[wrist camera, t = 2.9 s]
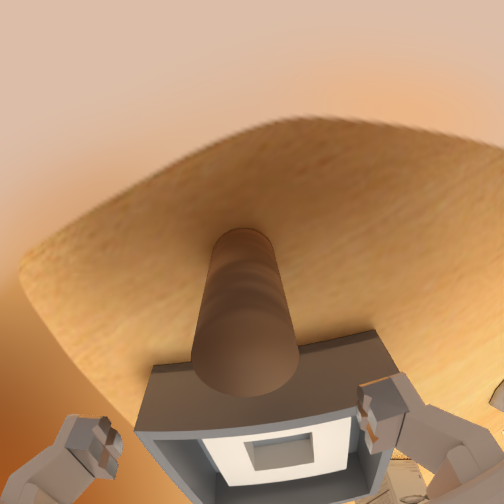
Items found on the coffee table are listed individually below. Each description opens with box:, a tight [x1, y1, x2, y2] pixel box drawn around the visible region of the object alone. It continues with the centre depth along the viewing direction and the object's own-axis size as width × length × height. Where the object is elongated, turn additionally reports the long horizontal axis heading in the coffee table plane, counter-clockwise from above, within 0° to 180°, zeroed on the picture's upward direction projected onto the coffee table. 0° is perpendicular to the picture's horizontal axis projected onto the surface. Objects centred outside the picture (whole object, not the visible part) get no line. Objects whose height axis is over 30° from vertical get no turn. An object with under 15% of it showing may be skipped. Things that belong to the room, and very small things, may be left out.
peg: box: [191, 228, 299, 397], centre depth 16 cm, size 4×4×10 cm
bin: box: [134, 330, 400, 504], centre depth 23 cm, size 18×18×7 cm
